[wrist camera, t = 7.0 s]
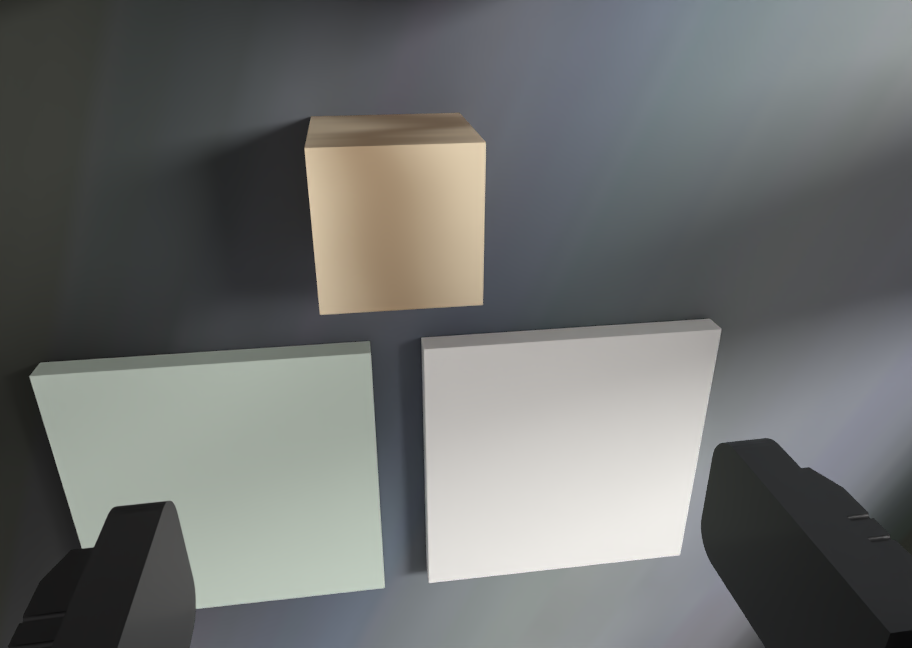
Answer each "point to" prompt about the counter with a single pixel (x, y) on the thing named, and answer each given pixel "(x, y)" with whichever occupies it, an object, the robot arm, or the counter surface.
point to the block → (396, 211)
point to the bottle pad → (230, 461)
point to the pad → (561, 444)
